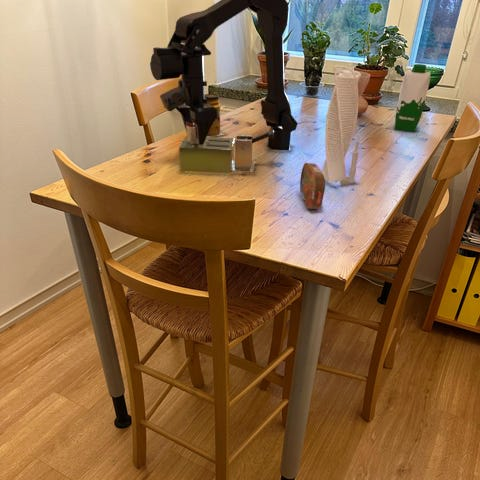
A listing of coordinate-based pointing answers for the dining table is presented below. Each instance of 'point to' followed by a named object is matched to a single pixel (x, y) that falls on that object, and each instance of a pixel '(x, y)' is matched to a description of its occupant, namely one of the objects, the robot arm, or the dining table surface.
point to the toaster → (207, 156)
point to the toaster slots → (218, 145)
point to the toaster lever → (263, 136)
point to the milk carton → (412, 98)
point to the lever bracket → (243, 155)
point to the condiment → (215, 127)
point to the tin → (312, 185)
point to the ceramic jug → (361, 87)
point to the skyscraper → (341, 127)
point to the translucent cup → (192, 133)
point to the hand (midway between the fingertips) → (195, 139)
